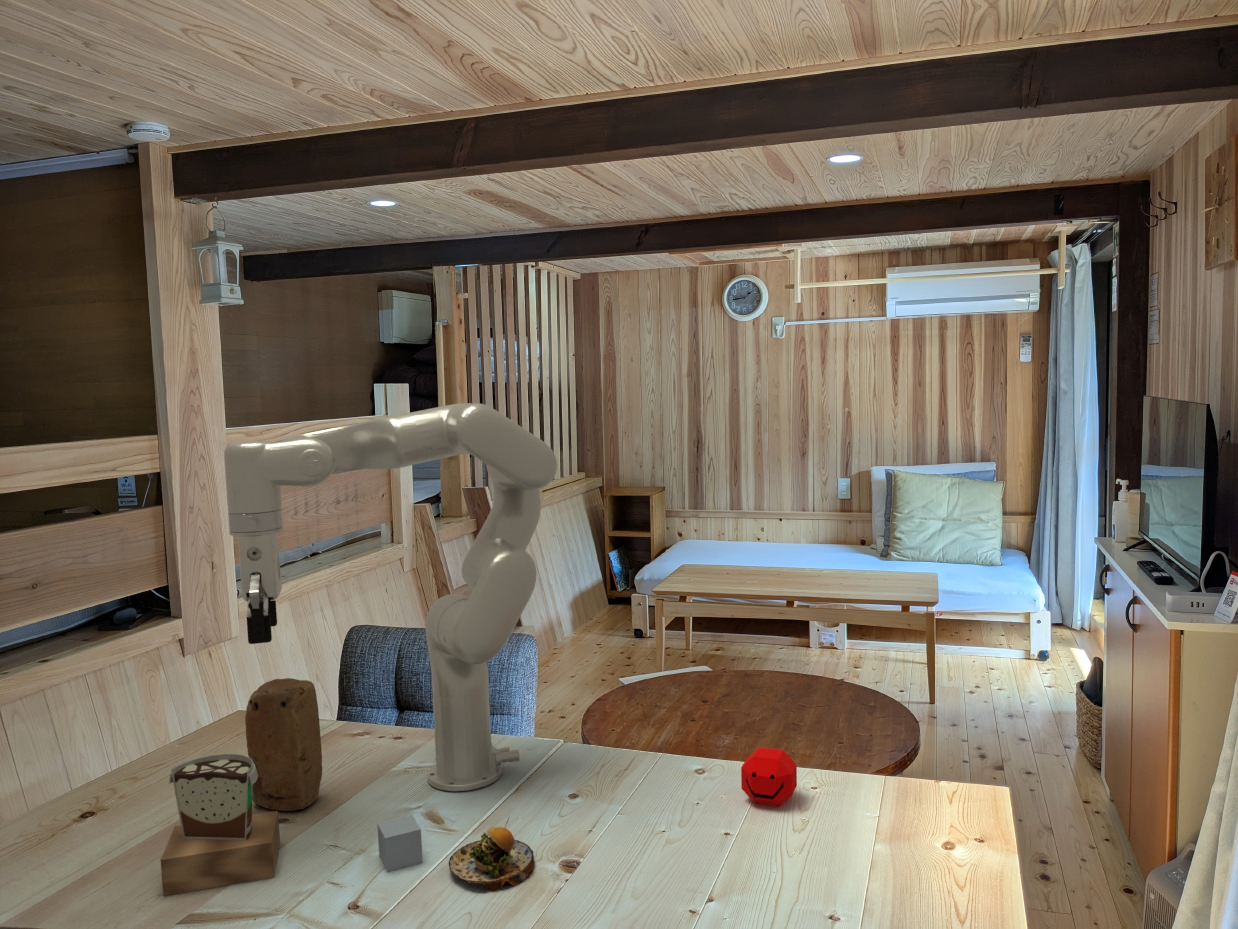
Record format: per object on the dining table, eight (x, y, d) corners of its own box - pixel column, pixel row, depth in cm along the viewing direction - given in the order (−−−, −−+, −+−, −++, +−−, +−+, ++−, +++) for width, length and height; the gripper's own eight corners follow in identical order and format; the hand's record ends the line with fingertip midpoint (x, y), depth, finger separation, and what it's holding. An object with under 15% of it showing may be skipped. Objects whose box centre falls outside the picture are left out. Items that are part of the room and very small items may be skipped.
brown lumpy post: (328, 795, 151) (321, 677, 149) (303, 816, 144) (295, 692, 142) (270, 791, 153) (262, 675, 152) (243, 811, 146) (234, 690, 145)
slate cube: (413, 847, 133) (412, 815, 132) (422, 863, 128) (420, 829, 128) (379, 856, 131) (377, 823, 130) (387, 872, 126) (385, 838, 126)
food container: (278, 819, 132) (273, 752, 131) (256, 840, 126) (251, 770, 125) (198, 817, 133) (193, 751, 133) (173, 838, 127) (167, 769, 127)
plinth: (280, 843, 135) (277, 810, 135) (274, 877, 126) (272, 842, 125) (177, 859, 131) (174, 826, 131) (163, 896, 122) (160, 860, 121)
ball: (738, 807, 142) (737, 759, 141) (750, 786, 149) (749, 740, 149) (789, 814, 139) (788, 766, 138) (799, 792, 146) (798, 746, 146)
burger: (459, 849, 132) (456, 799, 132) (539, 848, 132) (537, 798, 131) (439, 895, 120) (436, 841, 120) (528, 894, 120) (525, 840, 119)
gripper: (277, 529, 130) (285, 646, 131) (286, 514, 146) (293, 618, 148) (220, 533, 127) (229, 652, 129) (236, 517, 144) (243, 623, 145)
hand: (263, 634), depth 138 cm, fingers open, 9 cm apart
